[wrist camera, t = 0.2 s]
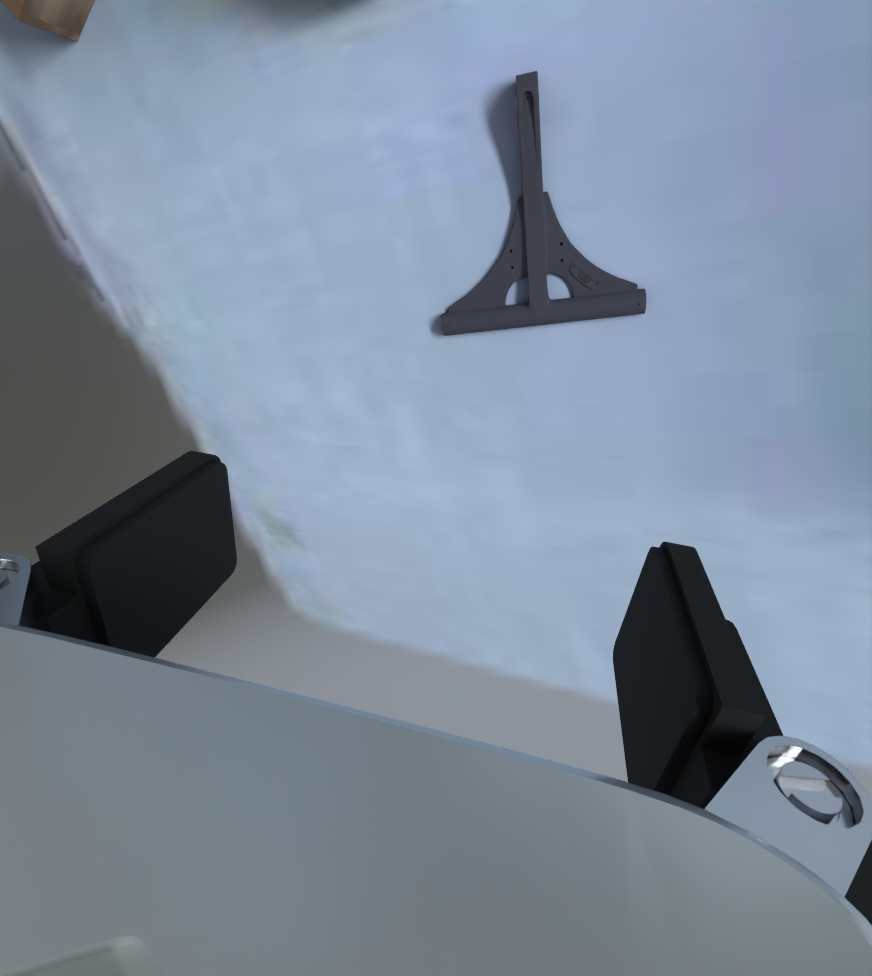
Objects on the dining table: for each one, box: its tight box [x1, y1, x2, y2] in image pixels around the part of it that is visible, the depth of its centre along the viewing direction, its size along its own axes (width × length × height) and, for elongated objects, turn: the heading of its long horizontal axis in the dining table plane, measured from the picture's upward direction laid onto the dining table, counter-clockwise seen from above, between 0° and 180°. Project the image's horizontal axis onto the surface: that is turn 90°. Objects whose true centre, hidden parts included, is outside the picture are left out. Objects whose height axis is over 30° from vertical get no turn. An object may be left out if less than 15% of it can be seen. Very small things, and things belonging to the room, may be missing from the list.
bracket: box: [442, 71, 646, 336], centre depth 34 cm, size 14×15×3 cm
